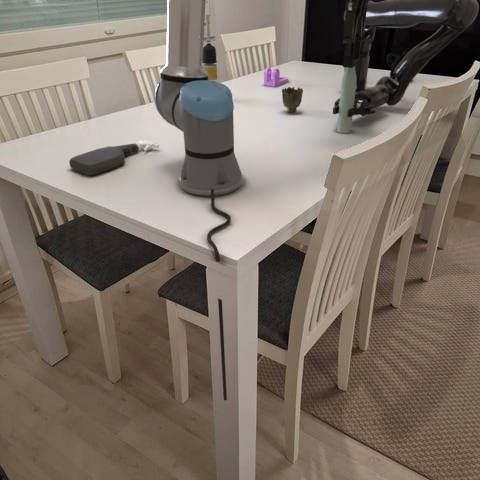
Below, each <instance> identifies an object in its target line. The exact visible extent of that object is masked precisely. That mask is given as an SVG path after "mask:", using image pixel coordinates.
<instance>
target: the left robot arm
mask: <svg viewBox="0 0 480 480" xmlns="http://www.w3.org/2000/svg"><path fill="white" fill-rule="evenodd" d="M369 1H370V0H348V1H346V2H345V10H346V15H345V20H344V26H343V37H342V41H341V42H342V44H344V54H343V64H342V68H345V67H347V68H353V61H354V58H358V62H359V54H360V45H361V41H360V40H364V38H365V37H363V36H364V30H365V22H366V13H367V6H368V2H369ZM166 2H167V3H166V4H167V8H166V9H167V10H166V13H167V14H166V16H167V17H166V63H165V65H164V66H163V67H162V68H161V69H160V71H159V72H160V73H159V82H158V84H157V85H156V87H155V90H154V93H153V100H154V105H155V108H156V111H157V113H158V115H160V117H162V119H163V120H164V121H166V123H168V124H170V125H171V126H174V127H175V128H176V129H177V130H180V132H182V133H183V143H184V154H185V155H184V158H183V164H182V168H181V171H180V177H179V183H180V184H179V185H180V188H181V189H182V191H184V192H186V193H187V194H190V195H194V196H199V197H210V206H211V208H212V210H213V211H214V212H216V213H217V214H219V215H221V216H224V217H225V218H226V219H227V220H226V221H224V222H222V223H221V224H219V225H217V226H214V227H213V228H211V229H210V230H209V231H208V233H207V235H206V241H207V242H208V244H210V246H211V248H212V250H213V251H214V255H215V261H216V262H217V263H219V262H221V257H220V252H219V249H218V247H217V246H216V243H214V241H213V239H212V238H211V237H212V234H213V233H215V232H217V231H218V230H220V229H223V228H225V227H226V226H228V225H229V224H230V223H231V220H232V219H231V216H230V214H228V213H227V212H225V211H223V210H220V209H218V208H217V207H216V206H215V197H221V196H224V195H229V194H232V193H234V192H235V191H237V190H239V189H240V188H241V187H242V185H243V174H242V171H241V168H240V165H239V163H238V160H237V157H236V154H235V132H234V131H235V130H234V127H235V126H234V109H235V105H234V100H233V98H234V97H233V93H232V91H231V89H230V88H229V87H228V86H227V85H226V84H223V83H222V82H219V81H215V82H212V81H213V80H212V81H208V73H207V72H206V70H205V69H204V68H203V65H204V63H203V47H204V40H205V37H204V36H205V22H206V17H205V15H206V0H167V1H166ZM217 306H218V321H219V323H218V324H219V339H220V342H219V343H220V357H221V360H220V361H221V373H222V375H221V377H222V392H223V393H222V394H223V400H224V401H227V399H228V393H227V373H226V354H225V353H226V351H225V333H224V313H223V300H222V299H221V298H219V297H218V298H217Z"/></svg>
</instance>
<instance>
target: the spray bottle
mask: <svg viewBox="0 0 480 480" xmlns="http://www.w3.org/2000/svg"><path fill="white" fill-rule="evenodd" d="M159 148H160V145H159V144H158V143H155V142H151V141H148V140H144V139H139V140H138V141H137V142H135V143H129V144H128V143H126V144H122V145H113V146H105V147H100V148H97V149H94V150H90V151H87V152H83V153H81V154H78V155H74V156H73V157H70V159H69V161H68V162H69V167H70V168H71V169H72V170H74V171H75V172H78V173H81V174H83V175H85V176H89V177H90V176H91V177H92V176H95V175H99V174H102V173H105V172H107V171H110V170H113V169H116V168H118V167H120V166H122V165H123V164H124V163H125V158H126V156H127V155H131V154H133V153H138V151H140V150H143V151H144V152H146V151H147V150H149V149H159Z"/></svg>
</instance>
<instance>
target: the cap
mask: <svg viewBox="0 0 480 480" xmlns="http://www.w3.org/2000/svg"><path fill="white" fill-rule="evenodd" d="M356 66H358V58H354V61H353V67H356Z"/></svg>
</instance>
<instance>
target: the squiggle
mask: <svg viewBox="0 0 480 480" xmlns="http://www.w3.org/2000/svg"><path fill="white" fill-rule="evenodd" d="M408 53H409V51H403V53H402V54H401V55H396V54H394V53H392V52H390V53H387V55H386V57H385V61H386V64H387V67H390V68H391V70H390V72H389V77H391V78H392V79H393V80H395V79H396V82H398V79H397V77H396V76H395V73H394V70H395V68H396V67H397V65H398V64H399V63H400V62H401V60H402V59H403V58H404V57H405V56H406V55H407V54H408ZM401 57H402V59H401ZM391 59H392V60H391ZM393 60H394V61H393Z"/></svg>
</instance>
